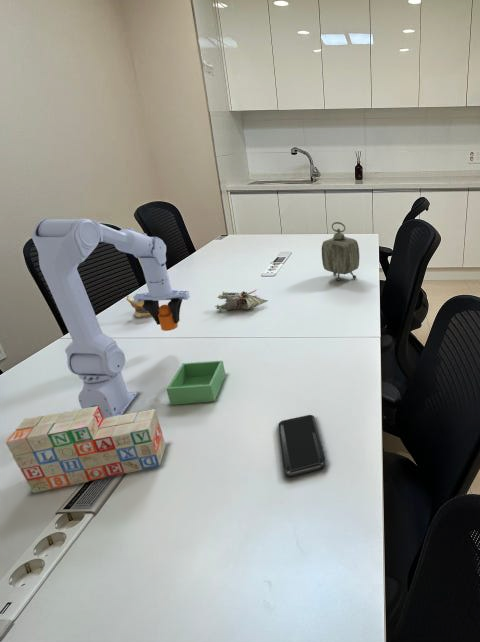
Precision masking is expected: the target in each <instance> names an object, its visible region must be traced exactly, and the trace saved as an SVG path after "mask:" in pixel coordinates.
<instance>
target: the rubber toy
mask: <svg viewBox="0 0 480 642" xmlns="http://www.w3.org/2000/svg"><path fill="white" fill-rule="evenodd" d="M159 313H160V314H159V315H158V318H159V322H160V329H161V330H162V331H163V332H168V331H173V330H175V329H177V328H178V327H179V325H178V324H179V323H176V324H175V323H174V320H173V316H172V312H171V310H170V308H169V306H168V304H167V303H166V304H162V305H159Z"/></svg>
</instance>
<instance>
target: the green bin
mask: <svg viewBox="0 0 480 642" xmlns="http://www.w3.org/2000/svg"><path fill="white" fill-rule="evenodd" d="M225 369H226V368H225V365H224V361H223V360H212V361H197V362H196V361H195V362H183V363H181V366H180V367H179V369H178V370H177V371H176V373H175V374H174V376H173V378H172V379H171V381H170V382H169V384H168V386H167V387H166V393H167V396H168V401H169V403H170V406H172V405H173V406H174V405H184V404H197V403H209V402H210V403H211V402H215V401H216V399H217V396H218V394H219V392H220V390H221V387H222V385H223V383H224V381H225V378H226V375H227V374H226V370H225Z"/></svg>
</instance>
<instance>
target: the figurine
mask: <svg viewBox="0 0 480 642" xmlns="http://www.w3.org/2000/svg"><path fill="white" fill-rule="evenodd" d="M257 290H258V289H257V288H256V289H254V290H252V291H250V292H247V291H245V290H244V291H241V292H228V291H226V292H225V291H222V294H218V296H217V298H218V299H219V300H224V302H225V303H223V304H221V305H219V304H218V303H217V305H215V306H214V307H215V308H216V310H219V311H222V310H224V311H225V310H226V311H231V310H233V309H234V310H235V309H237V310H239V309H243V310H246V311H247V310H249V309H254V308H256V307H258V306H261V305H263V304H264V303H266V302H268V301H269V300H268V299H267V300H266V299H263V298H260V297H258V296H257V295H256V294H254V293H256V291H257ZM251 294H254V295H251Z"/></svg>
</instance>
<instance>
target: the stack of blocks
mask: <svg viewBox="0 0 480 642" xmlns="http://www.w3.org/2000/svg"><path fill="white" fill-rule="evenodd" d="M5 445H6V446H7V448H8V450H9V451H10V453H11V455H12V458H13V459H14V462H15V463H16V465H17V467H18V468H19V469H20V472H21V473H22V475H23V477H24V479H25V480H26V483H27V485H28V487H29V488H30V490H31V491H32V493H35V494H36V493H41V492H45V491H49V490H56V489H61V488H65V487H70V486H74V485H80V484H85V483H88V482H91V481H96V480H100V479H105V478H109V477H113V476H118V475H123V474H129V473H134V472H138V471H142V470H149V469H153V468H157V467H160V466H161V463H162V460H163V456H164V454H165V450H166V441H165V437H164V435H163V431H162V427H161V425H160V423H159V417H158V414H157V411H156V409H155V408H153V409H147V410H143V411H139V412H138V411H135V412H131V413H125V414H124V413H123V414H122V415H118V416H113V417H108V418H105V419H103V415H102V413H101V410H100V408H99V406H95V407H90V408H84V409H82V408H80V409H73V410H67V411H63V412H57V413H51V414H46V415H39V416H33V417H28V418H24V419H23V420H22V421H21V422H20V424H19V425H18V426H17V427H16V429H15V430H14V431H13V432H12V433H11V435H10V436H9V437H8V439H7V440H6V442H5Z"/></svg>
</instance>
